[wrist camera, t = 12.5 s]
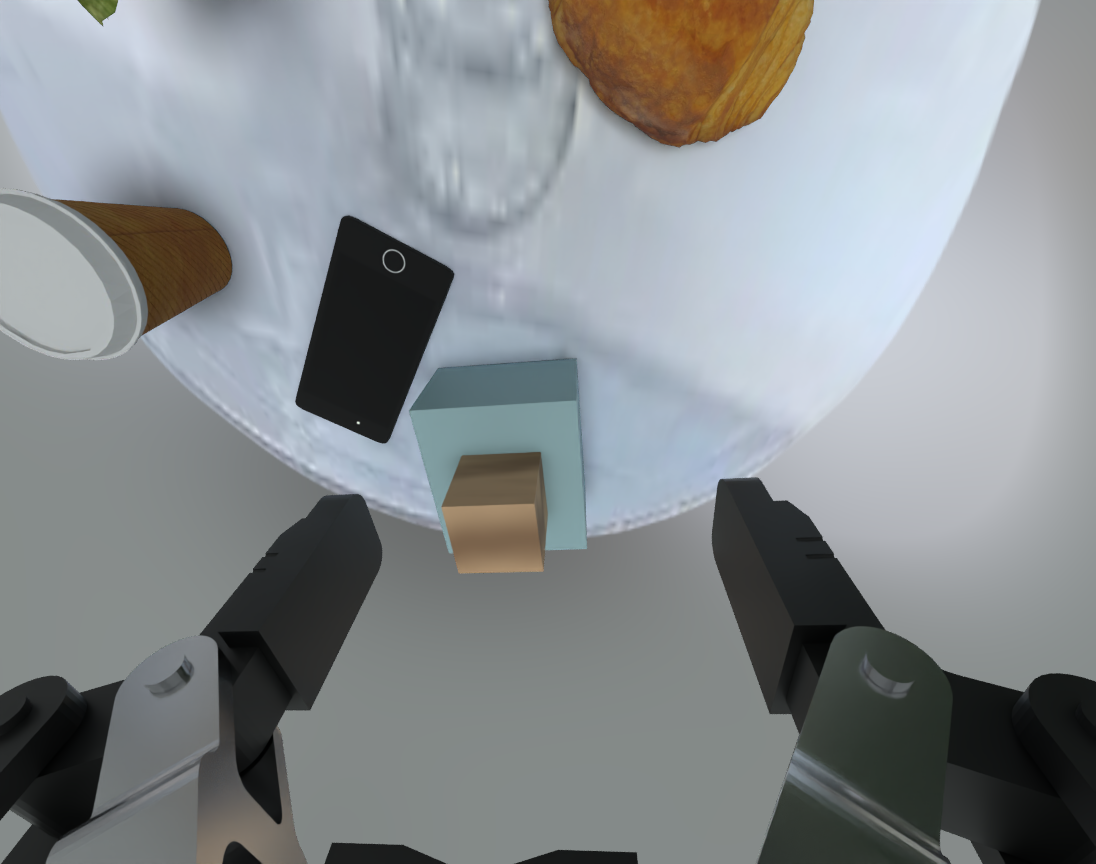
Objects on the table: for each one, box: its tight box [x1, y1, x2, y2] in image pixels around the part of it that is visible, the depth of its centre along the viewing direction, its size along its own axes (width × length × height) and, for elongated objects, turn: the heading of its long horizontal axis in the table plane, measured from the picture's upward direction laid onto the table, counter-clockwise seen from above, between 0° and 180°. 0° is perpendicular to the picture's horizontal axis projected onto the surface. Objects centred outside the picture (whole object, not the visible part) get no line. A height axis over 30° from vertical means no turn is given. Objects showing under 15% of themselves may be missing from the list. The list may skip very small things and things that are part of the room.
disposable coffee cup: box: [0, 189, 232, 360], centre depth 30 cm, size 10×10×12 cm
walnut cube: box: [441, 452, 548, 573], centre depth 32 cm, size 6×6×6 cm
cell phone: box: [295, 216, 454, 443], centre depth 38 cm, size 9×18×1 cm, turn 152°
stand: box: [409, 359, 587, 553], centre depth 39 cm, size 14×12×8 cm
